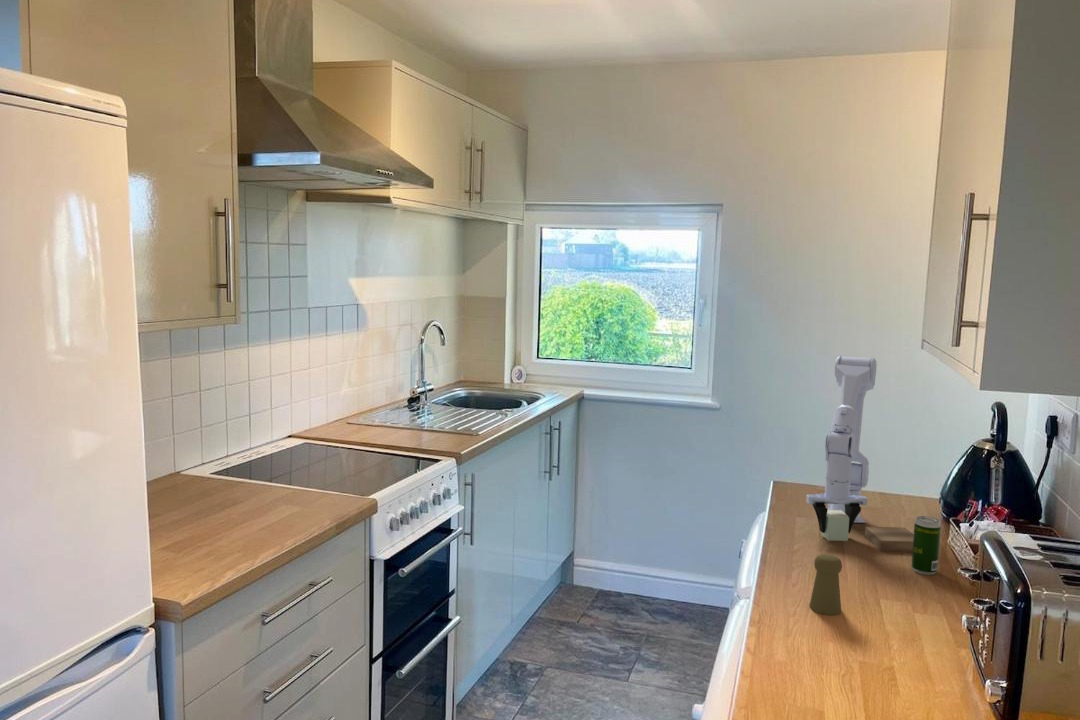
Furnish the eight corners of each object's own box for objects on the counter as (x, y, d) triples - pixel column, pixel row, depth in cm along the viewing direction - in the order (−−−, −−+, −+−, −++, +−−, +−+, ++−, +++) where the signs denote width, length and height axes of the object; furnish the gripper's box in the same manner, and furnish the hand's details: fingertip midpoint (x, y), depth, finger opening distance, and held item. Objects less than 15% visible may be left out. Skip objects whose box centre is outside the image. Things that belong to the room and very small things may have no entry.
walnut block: (864, 538, 199) (865, 526, 199) (904, 539, 199) (905, 527, 198) (880, 552, 189) (881, 540, 189) (922, 553, 189) (923, 541, 188)
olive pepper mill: (826, 617, 153) (829, 563, 152) (802, 605, 158) (805, 553, 157) (848, 611, 156) (851, 558, 154) (824, 599, 161) (827, 548, 160)
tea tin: (821, 533, 201) (822, 509, 200) (840, 534, 201) (842, 509, 200) (827, 540, 196) (829, 515, 195) (847, 541, 196) (849, 516, 195)
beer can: (941, 571, 177) (945, 520, 175) (930, 577, 173) (934, 525, 172) (917, 564, 181) (921, 514, 179) (906, 570, 177) (910, 518, 176)
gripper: (813, 483, 192) (810, 536, 194) (873, 484, 192) (869, 537, 194) (805, 475, 199) (802, 526, 201) (862, 476, 199) (859, 528, 201)
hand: (834, 531), depth 198 cm, fingers open, 6 cm apart
